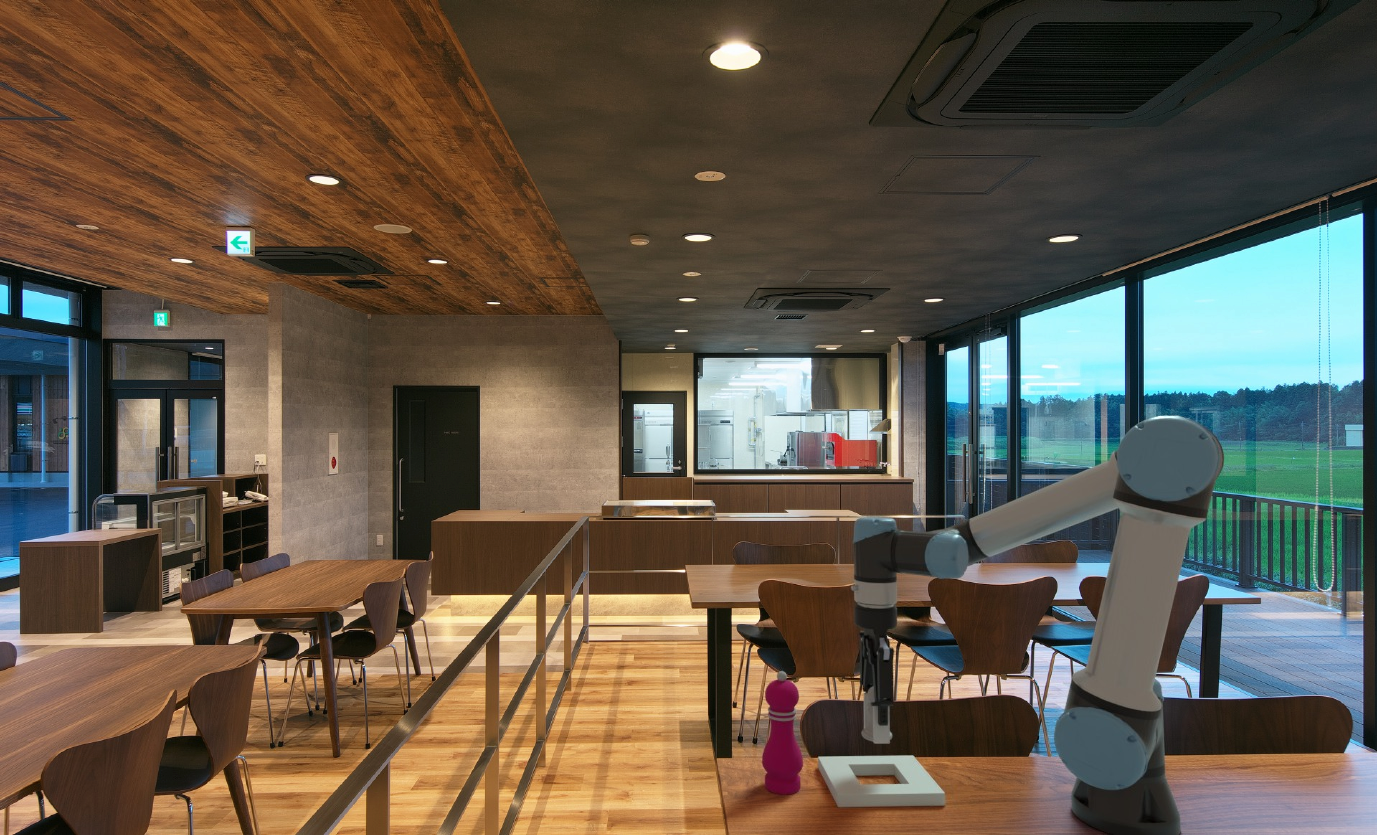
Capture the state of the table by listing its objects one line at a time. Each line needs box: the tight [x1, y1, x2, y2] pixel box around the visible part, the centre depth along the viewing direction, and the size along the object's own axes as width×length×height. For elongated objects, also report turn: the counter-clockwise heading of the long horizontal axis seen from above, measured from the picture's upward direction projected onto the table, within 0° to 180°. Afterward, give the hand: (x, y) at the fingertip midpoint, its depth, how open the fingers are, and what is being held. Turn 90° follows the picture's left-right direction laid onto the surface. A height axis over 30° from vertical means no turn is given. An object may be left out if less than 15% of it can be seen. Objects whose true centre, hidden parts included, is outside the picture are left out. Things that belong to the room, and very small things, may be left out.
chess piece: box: [860, 686, 893, 742], centre depth 132 cm, size 5×5×9 cm
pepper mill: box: [761, 670, 804, 795], centre depth 132 cm, size 7×7×20 cm
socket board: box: [817, 755, 946, 808], centre depth 132 cm, size 18×16×2 cm
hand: (876, 736), depth 132 cm, fingers closed on chess piece, 5 cm apart
